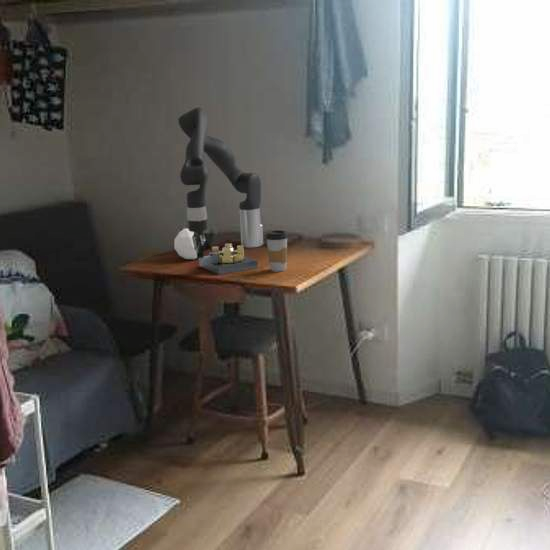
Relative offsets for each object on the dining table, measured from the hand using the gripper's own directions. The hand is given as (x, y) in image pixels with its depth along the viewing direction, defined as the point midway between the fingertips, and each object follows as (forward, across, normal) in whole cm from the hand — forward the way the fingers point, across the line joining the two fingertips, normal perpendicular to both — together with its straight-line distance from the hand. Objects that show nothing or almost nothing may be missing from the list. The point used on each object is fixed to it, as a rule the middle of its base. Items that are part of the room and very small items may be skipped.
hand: (200, 261), depth 285 cm
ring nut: (+1, -1, +8) cm, 8 cm away
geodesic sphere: (+5, -27, +2) cm, 27 cm away
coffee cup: (+4, +12, +28) cm, 31 cm away
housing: (+4, -2, +12) cm, 13 cm away
